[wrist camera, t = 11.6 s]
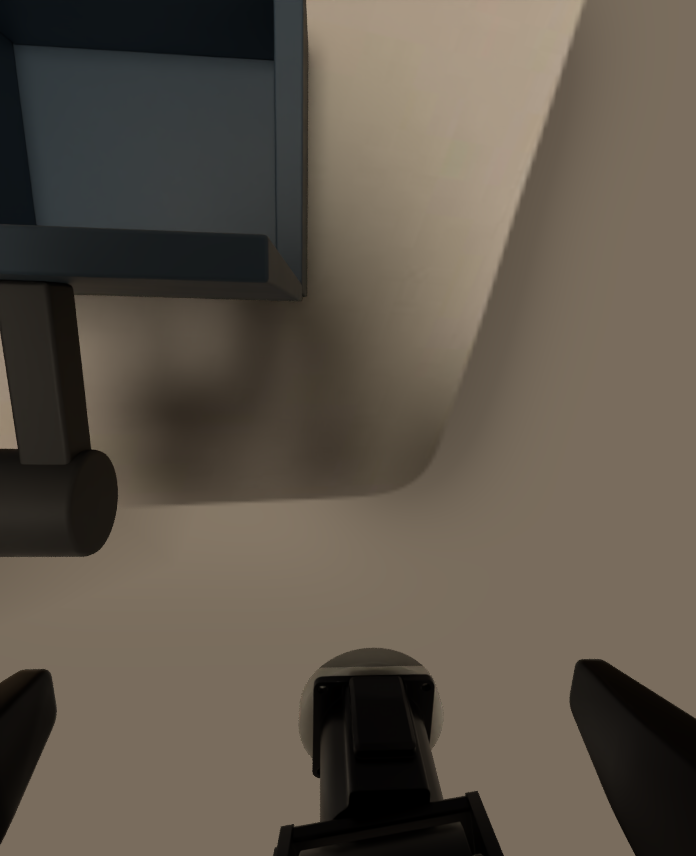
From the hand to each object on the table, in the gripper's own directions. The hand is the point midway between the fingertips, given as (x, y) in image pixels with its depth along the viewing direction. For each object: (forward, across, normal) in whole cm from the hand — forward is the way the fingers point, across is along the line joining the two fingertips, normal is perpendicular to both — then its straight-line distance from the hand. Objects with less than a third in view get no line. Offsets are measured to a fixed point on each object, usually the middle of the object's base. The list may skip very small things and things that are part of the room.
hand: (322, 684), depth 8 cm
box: (+13, +6, -11) cm, 18 cm away
